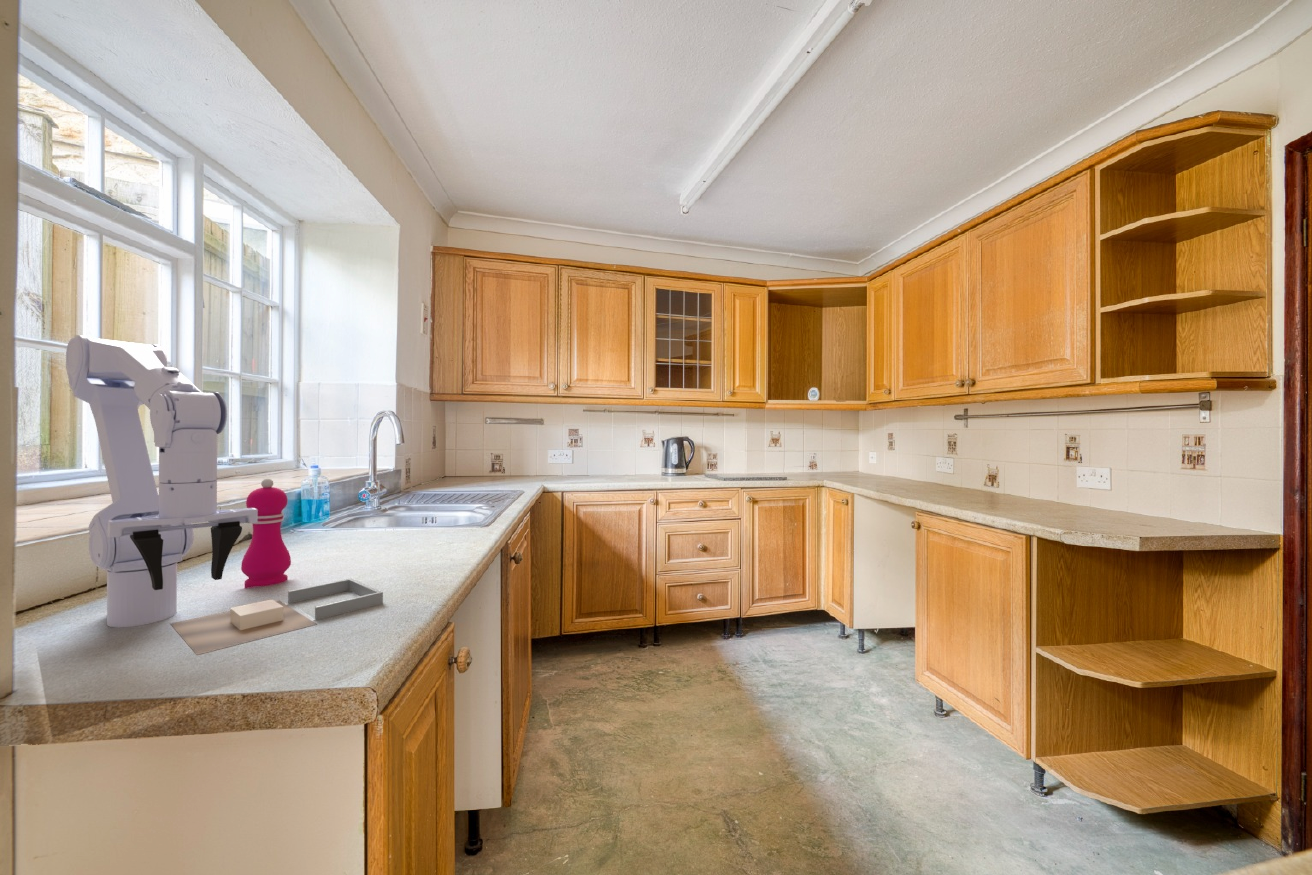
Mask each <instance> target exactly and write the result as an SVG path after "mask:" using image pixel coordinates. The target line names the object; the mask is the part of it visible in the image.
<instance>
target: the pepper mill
mask: <svg viewBox="0 0 1312 875" xmlns="http://www.w3.org/2000/svg"><path fill="white" fill-rule="evenodd" d="M260 484H261V487H259V488H256V489H254V490H252V491H251V492H250V493H249V494H248V496H247V497H246V501H245V506H246V508H255V509H258V519H257V523H251V525H252V537H251V542H250V544H249V546H248V547H247V550H246V552H245V553H244V555H243V558H242V561H241V566H240V569H241V572H242V573H243V574H244V575H245V576H246V578H247V579H245V580H244V589H249V588H255V587H257V588H258V587H268V586H274V585H278V584H282V583H284V582H286V581H288V575H287V574H285V573H286V571H287V570H289V568H290V567H291V565H292V561H291V555H290V551H289V549H288V548H287V546H286V544H285V542H284V540H283V537H282V533H281V532H282V530H281V527H282V522H283V521H284V520H285V518H284V515H285V514H284V512H282V511H283V510H284V509H285V508H286V507H287V505H288V496H287V493H285V491H283V490H282V489H281V488H278V487H273V486H274V480H272V479H271V478H265V479H263V480H261V483H260Z"/></svg>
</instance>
